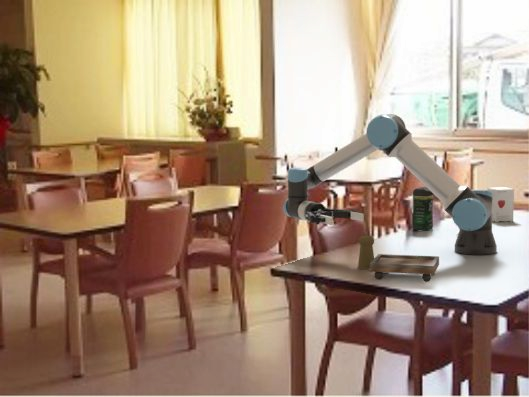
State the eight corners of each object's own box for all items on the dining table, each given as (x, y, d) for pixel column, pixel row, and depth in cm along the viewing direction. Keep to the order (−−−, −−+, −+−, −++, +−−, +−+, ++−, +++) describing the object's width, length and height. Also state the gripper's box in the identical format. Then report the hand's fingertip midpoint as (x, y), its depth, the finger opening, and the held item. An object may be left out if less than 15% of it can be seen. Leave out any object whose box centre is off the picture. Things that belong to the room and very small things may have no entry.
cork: (356, 265, 284) (355, 234, 283) (373, 265, 285) (373, 233, 283) (359, 269, 278) (359, 237, 277) (377, 268, 279) (377, 236, 277)
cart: (438, 273, 269) (439, 256, 268) (433, 283, 255) (433, 265, 254) (378, 270, 275) (378, 254, 275) (370, 280, 261) (370, 263, 260)
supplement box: (495, 222, 370) (496, 189, 368) (486, 219, 378) (486, 187, 376) (514, 221, 371) (514, 188, 369) (504, 218, 380) (504, 186, 378)
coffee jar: (427, 231, 349) (427, 188, 347) (410, 230, 353) (410, 187, 351) (435, 228, 357) (435, 186, 355) (418, 227, 361) (418, 185, 359)
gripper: (339, 218, 313) (375, 226, 295) (284, 225, 300) (318, 233, 282) (339, 199, 312) (375, 205, 294) (284, 204, 299) (318, 211, 281)
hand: (347, 219), depth 288 cm, fingers open, 13 cm apart
